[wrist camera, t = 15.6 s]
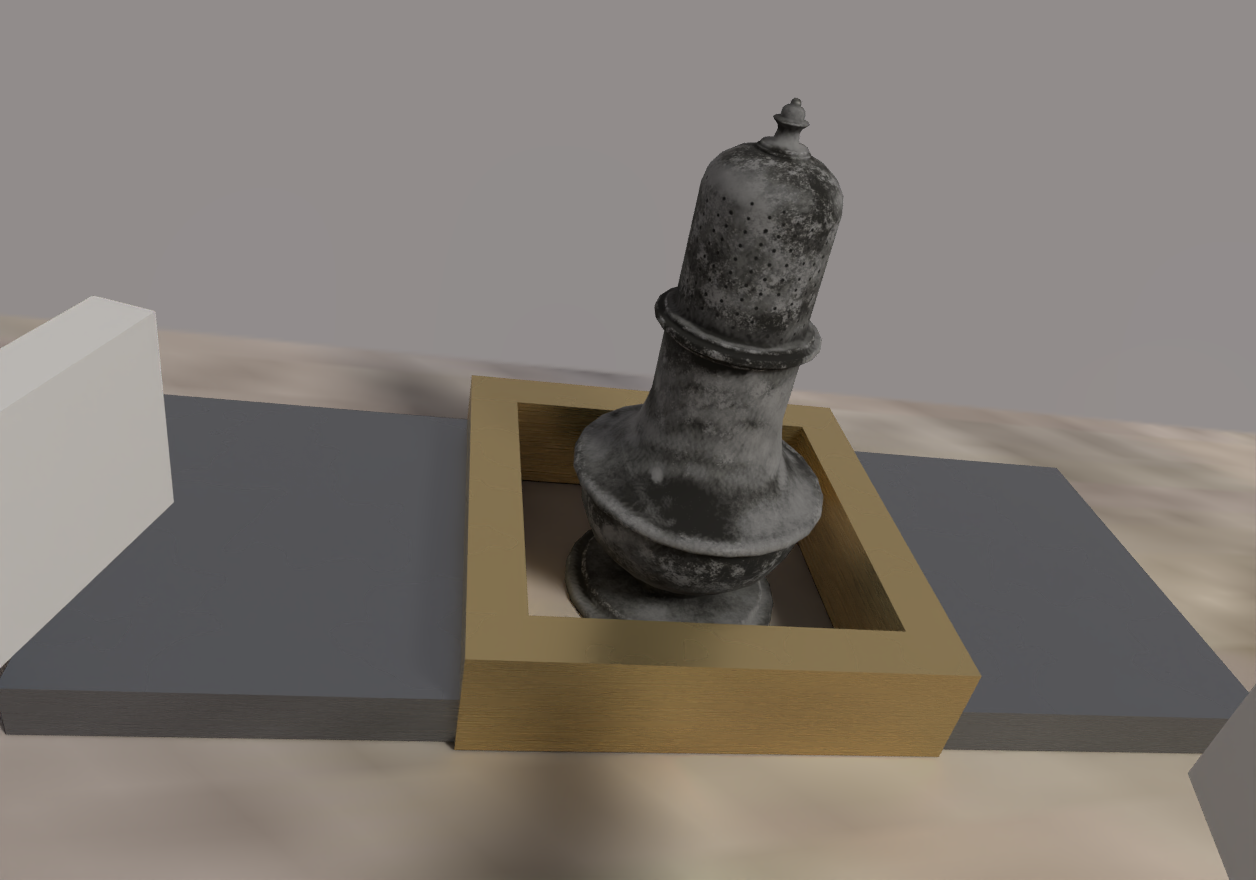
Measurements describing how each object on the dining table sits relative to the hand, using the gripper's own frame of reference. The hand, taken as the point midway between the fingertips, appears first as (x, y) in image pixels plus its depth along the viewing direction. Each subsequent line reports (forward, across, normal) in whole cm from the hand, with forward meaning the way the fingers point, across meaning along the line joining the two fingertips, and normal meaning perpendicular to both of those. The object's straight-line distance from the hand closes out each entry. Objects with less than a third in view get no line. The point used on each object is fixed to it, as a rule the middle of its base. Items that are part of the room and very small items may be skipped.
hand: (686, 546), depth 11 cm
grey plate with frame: (+10, 0, -9) cm, 13 cm away
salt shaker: (+10, 0, -9) cm, 13 cm away
